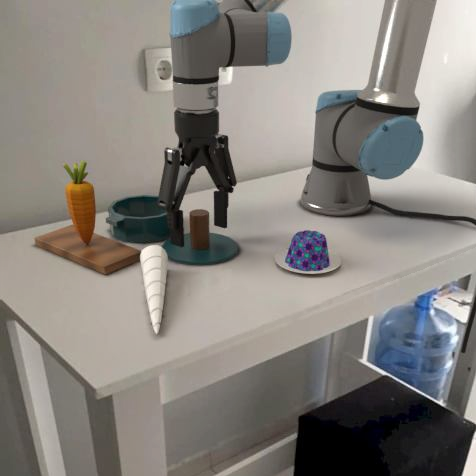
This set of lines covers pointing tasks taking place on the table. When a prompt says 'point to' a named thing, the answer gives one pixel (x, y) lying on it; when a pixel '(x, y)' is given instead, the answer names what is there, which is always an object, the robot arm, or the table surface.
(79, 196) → the carrot
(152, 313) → the unicorn horn
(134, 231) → the pot
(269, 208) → the table surface
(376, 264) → the table surface
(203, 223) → the lid
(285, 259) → the pudding
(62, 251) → the board
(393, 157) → the robot arm
